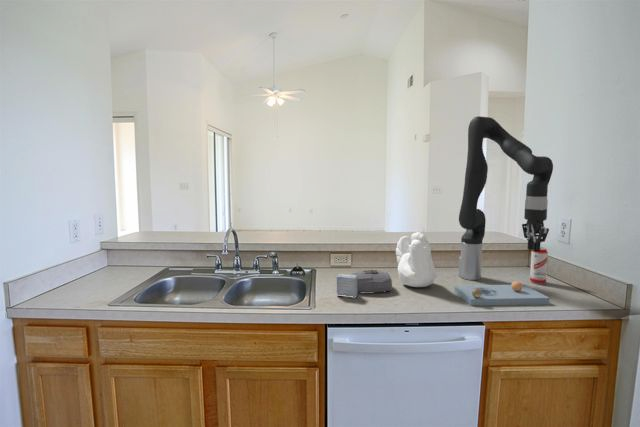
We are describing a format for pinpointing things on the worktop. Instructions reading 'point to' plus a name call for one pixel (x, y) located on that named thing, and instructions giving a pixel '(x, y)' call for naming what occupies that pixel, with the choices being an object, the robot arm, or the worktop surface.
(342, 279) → the medicine box
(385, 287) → the grey rounded bag
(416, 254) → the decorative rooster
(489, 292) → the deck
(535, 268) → the beer can
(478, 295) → the cork ball
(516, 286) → the ball
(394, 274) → the worktop surface
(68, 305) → the worktop surface
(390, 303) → the worktop surface
